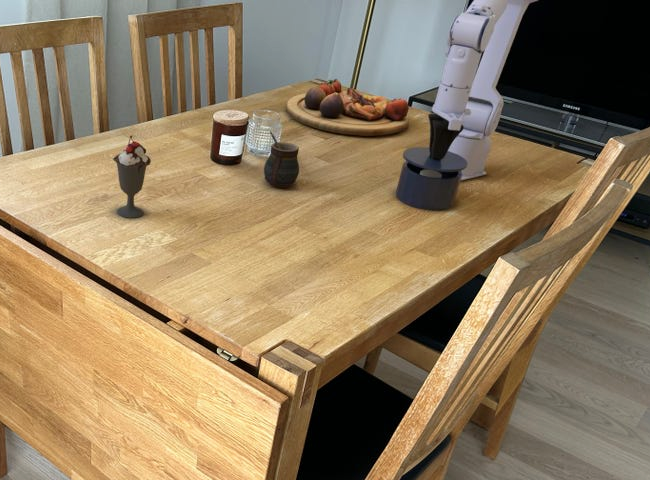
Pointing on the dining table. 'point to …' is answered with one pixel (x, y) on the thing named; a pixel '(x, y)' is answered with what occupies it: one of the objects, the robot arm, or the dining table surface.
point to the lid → (434, 160)
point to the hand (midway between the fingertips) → (436, 155)
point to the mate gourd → (282, 164)
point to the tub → (431, 173)
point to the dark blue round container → (427, 188)
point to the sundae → (131, 176)
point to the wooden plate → (348, 111)
